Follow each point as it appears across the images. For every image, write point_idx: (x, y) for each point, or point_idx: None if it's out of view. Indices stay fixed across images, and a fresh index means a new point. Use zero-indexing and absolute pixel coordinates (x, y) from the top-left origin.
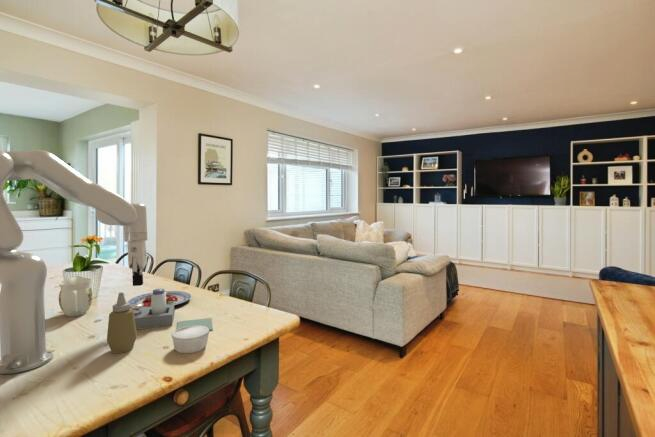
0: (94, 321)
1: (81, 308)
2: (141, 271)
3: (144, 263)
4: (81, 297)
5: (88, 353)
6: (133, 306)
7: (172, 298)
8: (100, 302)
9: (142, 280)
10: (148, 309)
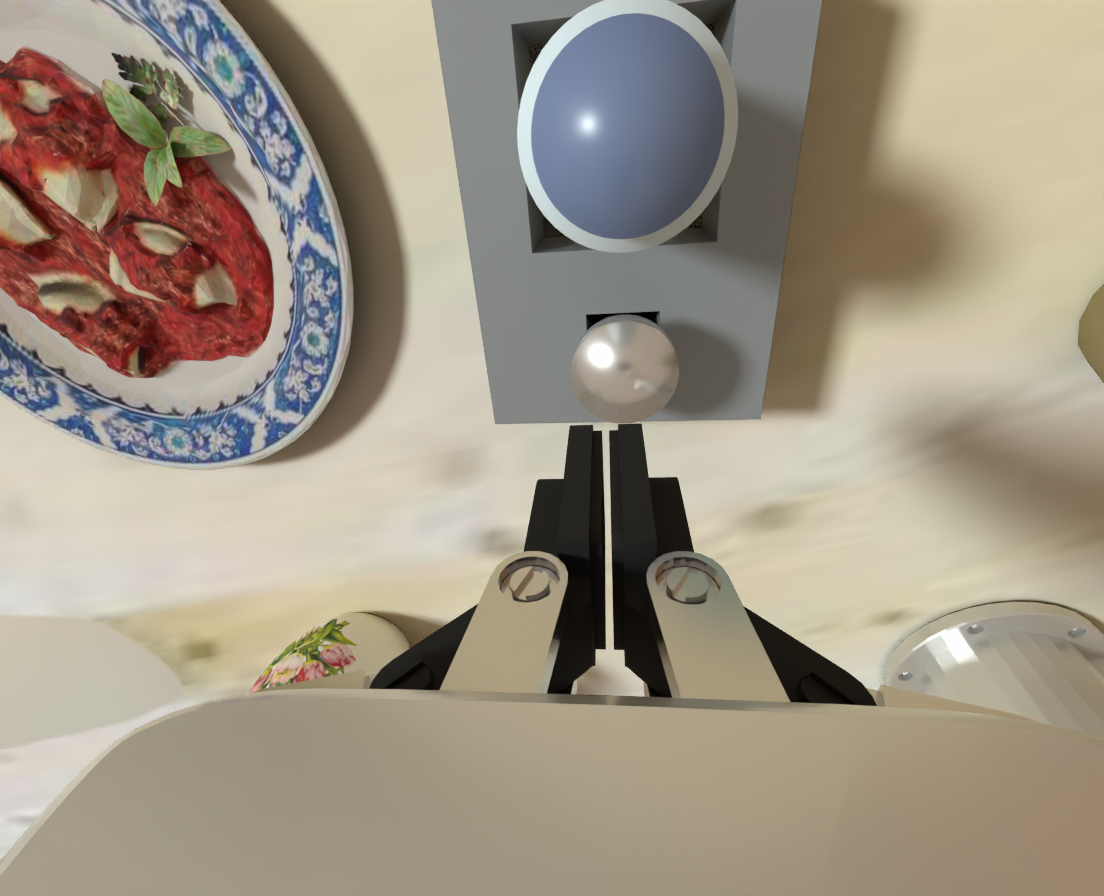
0: (508, 555)
1: (392, 652)
2: (564, 603)
3: (995, 886)
4: None
5: (1057, 479)
6: (657, 395)
7: (35, 110)
8: (182, 590)
9: (634, 460)
10: (539, 266)
